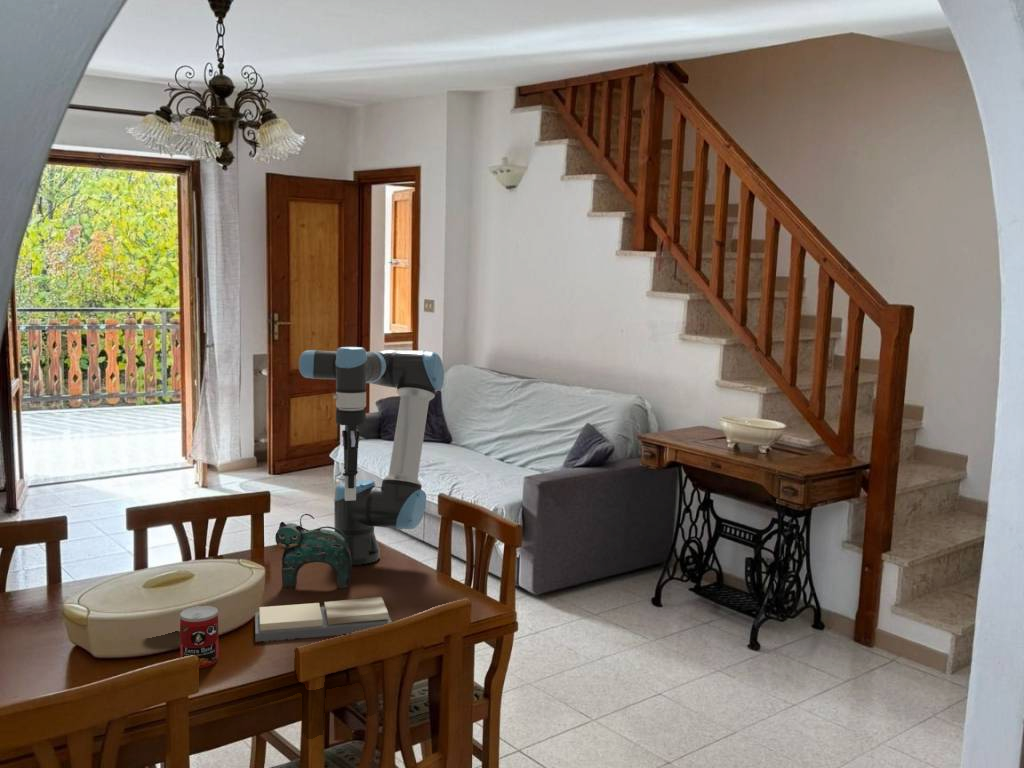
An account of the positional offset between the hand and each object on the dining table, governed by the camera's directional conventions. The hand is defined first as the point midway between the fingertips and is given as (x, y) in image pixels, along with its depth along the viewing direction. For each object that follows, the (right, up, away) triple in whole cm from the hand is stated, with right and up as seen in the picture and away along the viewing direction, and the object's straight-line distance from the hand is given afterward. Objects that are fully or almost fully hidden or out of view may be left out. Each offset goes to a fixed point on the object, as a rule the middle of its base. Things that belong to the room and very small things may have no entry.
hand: (350, 499), depth 227 cm
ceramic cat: (-12, -25, +13) cm, 31 cm away
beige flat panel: (+4, -26, -13) cm, 29 cm away
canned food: (-26, -30, -37) cm, 54 cm away
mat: (-4, -28, -15) cm, 32 cm away
